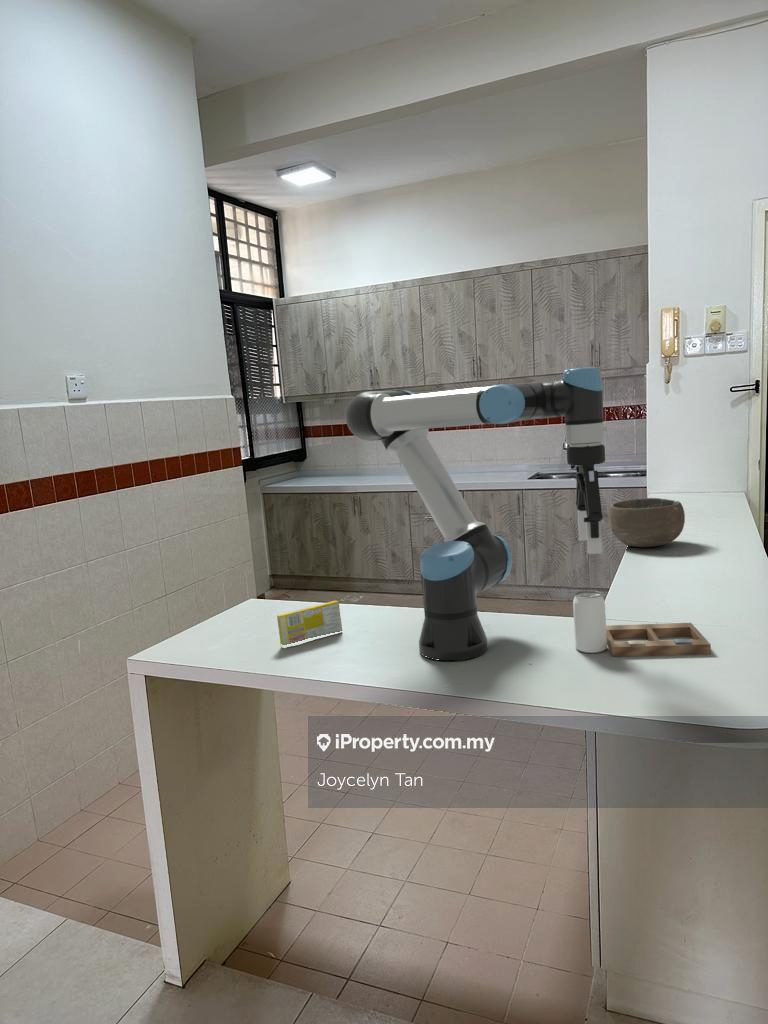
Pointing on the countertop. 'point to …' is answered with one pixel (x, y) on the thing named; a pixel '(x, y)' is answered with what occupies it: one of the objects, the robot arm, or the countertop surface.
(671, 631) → the socket board
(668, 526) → the bowl
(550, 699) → the countertop surface
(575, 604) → the can
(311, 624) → the candy box
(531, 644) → the countertop surface
